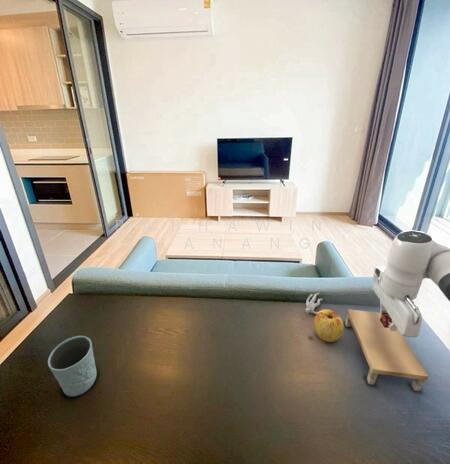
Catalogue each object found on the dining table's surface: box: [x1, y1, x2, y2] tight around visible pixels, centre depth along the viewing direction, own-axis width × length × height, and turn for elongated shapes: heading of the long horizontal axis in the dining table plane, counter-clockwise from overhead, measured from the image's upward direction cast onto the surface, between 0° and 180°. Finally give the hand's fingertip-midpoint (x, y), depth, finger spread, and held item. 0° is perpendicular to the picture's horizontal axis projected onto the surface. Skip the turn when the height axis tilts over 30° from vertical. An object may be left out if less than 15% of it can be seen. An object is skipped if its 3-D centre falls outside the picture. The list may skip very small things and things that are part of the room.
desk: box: [344, 308, 429, 392], centre depth 78 cm, size 14×22×6 cm, turn 172°
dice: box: [380, 314, 392, 328], centre depth 74 cm, size 4×4×4 cm
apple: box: [313, 308, 344, 343], centre depth 83 cm, size 9×9×10 cm
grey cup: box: [47, 335, 98, 397], centre depth 68 cm, size 10×10×12 cm
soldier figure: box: [303, 292, 324, 315], centre depth 96 cm, size 8×5×12 cm
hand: (387, 321), depth 74 cm, fingers closed on dice, 4 cm apart
